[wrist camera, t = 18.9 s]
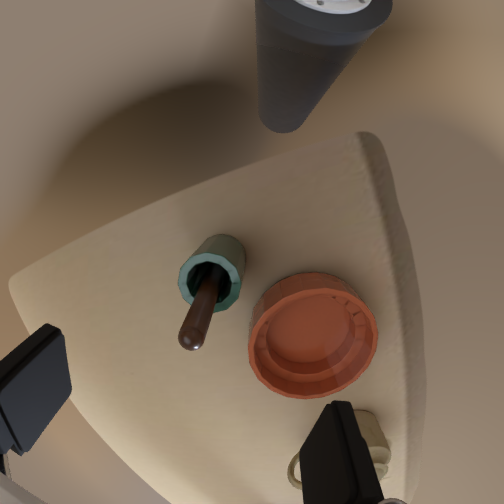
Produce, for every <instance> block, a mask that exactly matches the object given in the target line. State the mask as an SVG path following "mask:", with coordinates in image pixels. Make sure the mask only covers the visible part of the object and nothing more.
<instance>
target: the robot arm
mask: <svg viewBox="0 0 504 504" xmlns="http://www.w3.org/2000/svg"><path fill="white" fill-rule="evenodd" d="M294 1H296V2H298V3H300V4H301V5H304V6H306V7H308V8H311V9H314V10H317V11H321V12H326V13H332V14H350V13H354V12H358V11H360V10H362V9H364V8H365V7H367V6H368V5H369V3H370V2H371V1H372V0H294ZM71 391H72V386H71V380H70V374H69V368H68V362H67V354H66V347H65V338H64V335H63V334H62V332H61V330H60V329H59V328H57V327H55V326H52V325H50V324H48V323H46V324H44V325H43V326H42V327H40V328H39V329H38V330H37V331H35V332H34V333H33V334H32V335H31V336H29V337H28V338H27V339H26V340H25V341H23V342H22V343H21V344H20V345H18V346H17V347H16V348H15V349H14V350H13V351H11V352H10V353H9V354H8V355H7V356H6V357H4V358H3V359H2V360H1V361H0V504H47V503H46V502H44V501H42V500H41V499H39V498H38V497H36V496H34V495H33V494H31V493H30V492H28V491H27V490H25V489H24V488H22V487H20V486H19V485H18V484H16V483H15V482H14V481H12V479H11V474H10V469H9V463H8V457H7V451H8V450H9V449H11V450H13V451H14V452H15V453H17V454H18V455H20V456H22V455H23V453H24V452H28V451H29V450H30V449H31V448H32V446H33V445H34V443H35V442H36V440H37V439H38V438H39V436H40V435H41V433H42V432H43V431H44V429H45V428H46V427H47V425H48V424H49V422H50V421H51V420H52V418H53V417H54V416H55V414H56V413H57V412H58V410H59V409H60V408H61V406H62V405H63V404H64V402H65V401H66V400H67V399H68V397H69V396H70V394H71ZM299 461H300V471H301V481H302V491H303V502H304V504H407V503H405V502H403V501H402V500H399V499H396V498H389V499H384V496H383V493H382V490H381V486H380V483H379V480H378V477H377V473H376V470H375V467H374V464H373V461H372V458H371V455H370V451H369V448H368V445H367V442H366V440H365V439H364V438H363V437H362V435H361V432H360V429H359V426H358V423H357V420H356V417H355V414H354V411H353V408H352V405H351V403H350V402H348V401H336V400H334V401H332V402H331V404H327V405H326V406H325V408H324V410H323V411H322V413H321V415H320V417H319V418H318V420H317V422H316V424H315V425H314V427H313V429H312V431H311V432H310V434H309V436H308V437H307V439H306V441H305V442H304V444H303V445H302V447H301V449H300V452H299Z"/></svg>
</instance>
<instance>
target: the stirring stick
mask: <svg viewBox="0 0 504 504" xmlns="http://www.w3.org/2000/svg"><path fill="white" fill-rule="evenodd" d="M225 272H226V270H225V269H224V268H223V267H222V266H221V265H220V264H216V263H212V262H211V263H210V266H209V268H208V270H207V272H206V274H205V276H204V278H203V281H202V283H201V285H200V287H199V289H198V291H197V294H196V296H195V298H194V300H193V302H192V304H191V307H190V309H189V311H188V313H187V316H186V318H185V320H184V322H183V324H182V327H181V329H180V331H179V334H178V340H179V343H180V345H181V346H182V347H183V348H185V349H186V350H190V351H194V350H197V349H199V348H200V347H201V346H202V345H203V343H204V340H205V337H206V334H207V330H208V327H209V324H210V320H211V317H212V314H213V311H214V307H215V304H216V301H217V298H218V294H219V291H220V288H221V285H222V282H223V278H224V275H225Z"/></svg>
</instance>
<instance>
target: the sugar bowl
mask: <svg viewBox="0 0 504 504" xmlns="http://www.w3.org/2000/svg"><path fill="white" fill-rule="evenodd" d="M353 411H354V414H355V417H356V420H357V423H358V426H359V429H360V432H361V435H362V437H363V438H364V439H365V440H366V442H367V445H368V448H369V451H370V455H371V458H372V461H373V464H374V467H375V470H376V473H377V477H378V480H379V481H380V480H381V479H382V478H384V476H385V475H386V473H387V471H388V466H387V464H388V463H389V461H390V459H391V451H390V449H389V446H388V444H387V441H386V439H385V436H384V434H383V432H382V430H381V428H380V426H379V424H378V422H377V420H376V418H375V416H374V415H373V414H371V413H370V412H367V411H362V410H353ZM299 452H300V451H299ZM299 452H298V453H297V454H296V455H295V456H294V457H293V459H292V460H291V462H290V464H289V467H288V473H287V475H288V479H289V482H290V483H291V484H292V486H294V487H295V488H297V489H300V490H302V482H300V481H298V480H297V479H296V478H295V477H294V467H295V466H296V464H297V463H298V462H299Z"/></svg>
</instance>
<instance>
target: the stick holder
mask: <svg viewBox="0 0 504 504" xmlns="http://www.w3.org/2000/svg"><path fill="white" fill-rule="evenodd" d="M211 262H212V263H216V264H220V265H221V266H222V267H223V268H224V269H225V270H226V272H225V275H224V278H223V282H222V285H221V288H220V291H219V294H218V298H217V301H216V304H215V307H214V311H213V313H215V312H219V311H223V310H227V309H228V308H229V307H230V306H231V305H232V304H233V303H234V302H235V301H236V300H237V299H238V297H239V293H240V288H241V284H242V279H243V273H244V268H245V262H246V256H245V251H244V248H243V247H242V245H241V244H240V242H239V241H238V240H236V239H235V238H233V237H231V236H229V235H225V234H218V235H214V236H211V237H209V238H207V239H206V240H205V241H204V242H203V244H202V245H201V246H200V247H199V248H198V249H197V250H196V251H195V252H194V253H193V254H192V256H191V257H190V258H189V259H188V260H187V261H186V262H185V263H184V264H183V266H182V267H181V269H180V272H179V279H178V286H179V289H180V291H181V294H182V297H183V299H184V300H185V301H187V302H188V303H189V304H190V305H191V304H192V302H193V300H194V298H195V296H196V294H197V291H198V289H199V287H200V285H201V283H202V281H203V278H204V276H205V274H206V272H207V270H208V268H209V266H210V263H211Z"/></svg>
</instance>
